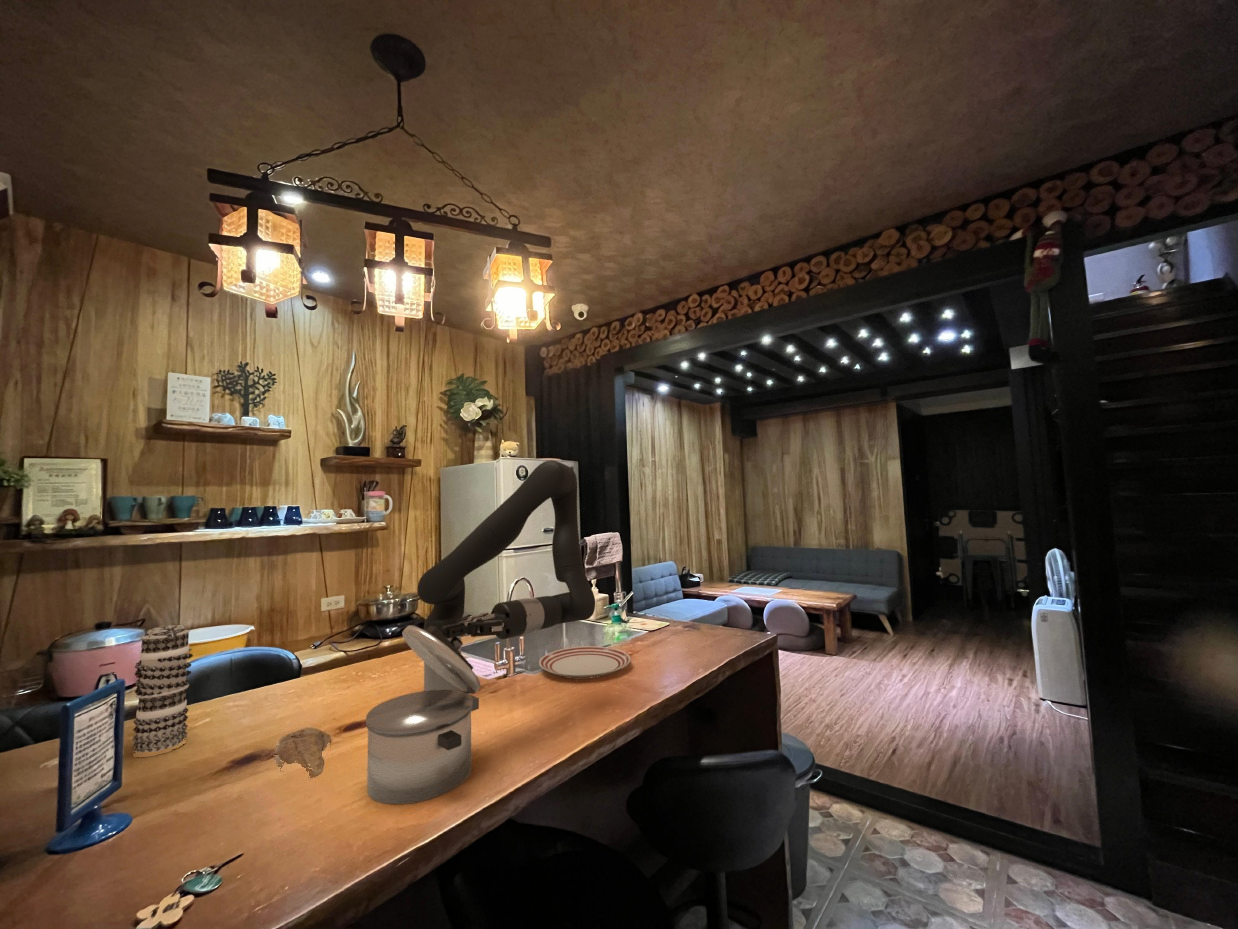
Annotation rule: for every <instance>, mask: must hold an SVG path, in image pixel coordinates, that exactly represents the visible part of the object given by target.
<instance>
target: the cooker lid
mask: <svg viewBox="0 0 1238 929" xmlns="http://www.w3.org/2000/svg"><path fill="white" fill-rule="evenodd" d="M401 634H402V637H403V640H404V641H405V642H406V644H407V645H408V647H409V648H410V649H411V650H412V651H413V652H414V654H416V656H417V657H419V658H420V659H421V660H422V662H423V663H424V662H425V663H426V664H427V665H428V666H429V667H430V668H432V669H433V670H434V671H435V672H436V673H438V674H439V675H440V676H442V677H443V678H444V679H446V680H447V681H448V682H450V683H451V684H453V685H454V686H456V687H458V688H459V689H461V691H462V692H465V693H467V694H470V695H474V694H476V693H477V692H478V690H479V689H480V688H481V686H482V685H481V682H480V680H479V678H478V676H477V674H476V673H475V672H474V671H473V669H474V666H473V665H472V664H471V663H470V662H469V661H468V660H467V659H466V658H465V657H464V656H463V654H462V652H461V653H460V652H459V651H458V649H459V648H460V647H461V648H462V646H463V645H464V643H463V641H462V639H461V640H460V639H459V638H457V637H453V638H451V640H450V641H449V640H448V639H447V638H446V637H445V636H444V635H443V634H442V633H441V631H440V630H439V629H438V628H437V627H434V626H431V625H430V626H429V628H428V629H427V630H426V631H424V628H420V627H418V626H416V625H410V624H409V625H407V626H406V627H405V628H404V629H403V630H402V633H401Z"/></svg>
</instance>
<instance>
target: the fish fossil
mask: <svg viewBox="0 0 1238 929" xmlns="http://www.w3.org/2000/svg"><path fill="white" fill-rule="evenodd" d="M278 741H279V743H278V744H279V745H276V747H274V748H275V752H276V754H278V755H273V756H275V757H274V760H276V764H278V765H277V766H278V767H281V768H282V767H283V765H284V763H285V762H286V763H287V764H292V763H298V764H301V766H302V767H304V768H306V771H307V772H308V771H309V776H310V778H311V779H314V778H317V777H319V775H321V774H322V773H323V771H324V767H325V759H324V757H322V751H324V750H325V748H326V747H327V744H328V743H330V741H331V734H329V733H326V731H322V729H319V728H316V727H313V726H311V727H310V726H309V727H303V728H301V729H298V730H296V731H292V732H290V733H288V734H284V735H283V736H282V737H281V738H280V739H279V740H278ZM280 760H282V761H284V762H282V761H280ZM295 761H296V762H295ZM282 764H283V765H282ZM308 764H310V766H309V765H308ZM323 766H324V767H323ZM308 767H309V768H312V769H313V770H312V769H309V768H308ZM281 768H280V769H281ZM280 771H281V770H280ZM316 776H317V777H316ZM313 777H314V778H313ZM308 778H309V777H308Z"/></svg>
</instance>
